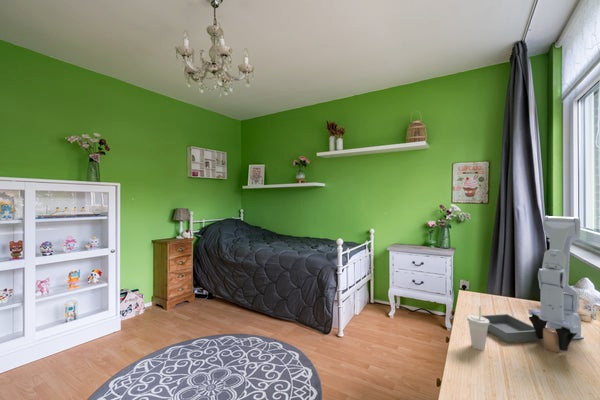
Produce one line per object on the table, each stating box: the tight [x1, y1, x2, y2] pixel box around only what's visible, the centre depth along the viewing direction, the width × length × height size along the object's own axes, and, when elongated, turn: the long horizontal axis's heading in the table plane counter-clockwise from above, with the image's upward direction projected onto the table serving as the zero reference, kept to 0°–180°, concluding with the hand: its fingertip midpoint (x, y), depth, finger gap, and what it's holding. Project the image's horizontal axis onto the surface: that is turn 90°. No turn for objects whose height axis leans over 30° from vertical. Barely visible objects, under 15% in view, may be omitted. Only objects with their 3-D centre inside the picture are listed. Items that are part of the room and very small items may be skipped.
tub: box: [481, 313, 543, 344], centre depth 103 cm, size 14×14×4 cm
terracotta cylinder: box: [542, 327, 561, 353], centre depth 91 cm, size 4×4×6 cm
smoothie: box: [466, 305, 490, 351], centre depth 92 cm, size 6×6×14 cm
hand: (551, 344), depth 91 cm, fingers open, 7 cm apart
